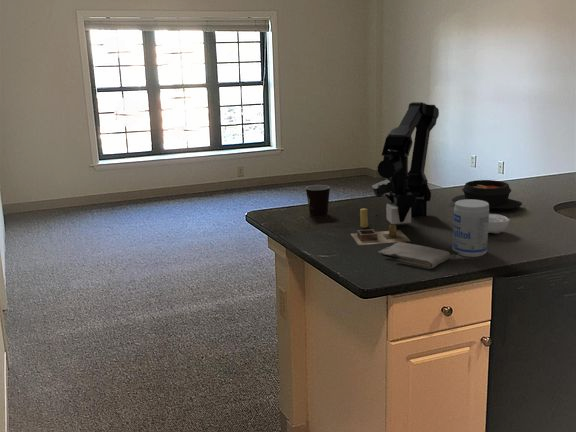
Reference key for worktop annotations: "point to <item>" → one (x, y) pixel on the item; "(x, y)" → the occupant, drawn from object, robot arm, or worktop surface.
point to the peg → (363, 218)
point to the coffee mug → (318, 199)
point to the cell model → (497, 223)
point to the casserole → (489, 194)
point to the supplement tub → (470, 227)
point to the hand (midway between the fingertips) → (398, 219)
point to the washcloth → (416, 255)
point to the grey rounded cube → (396, 214)
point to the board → (379, 236)
